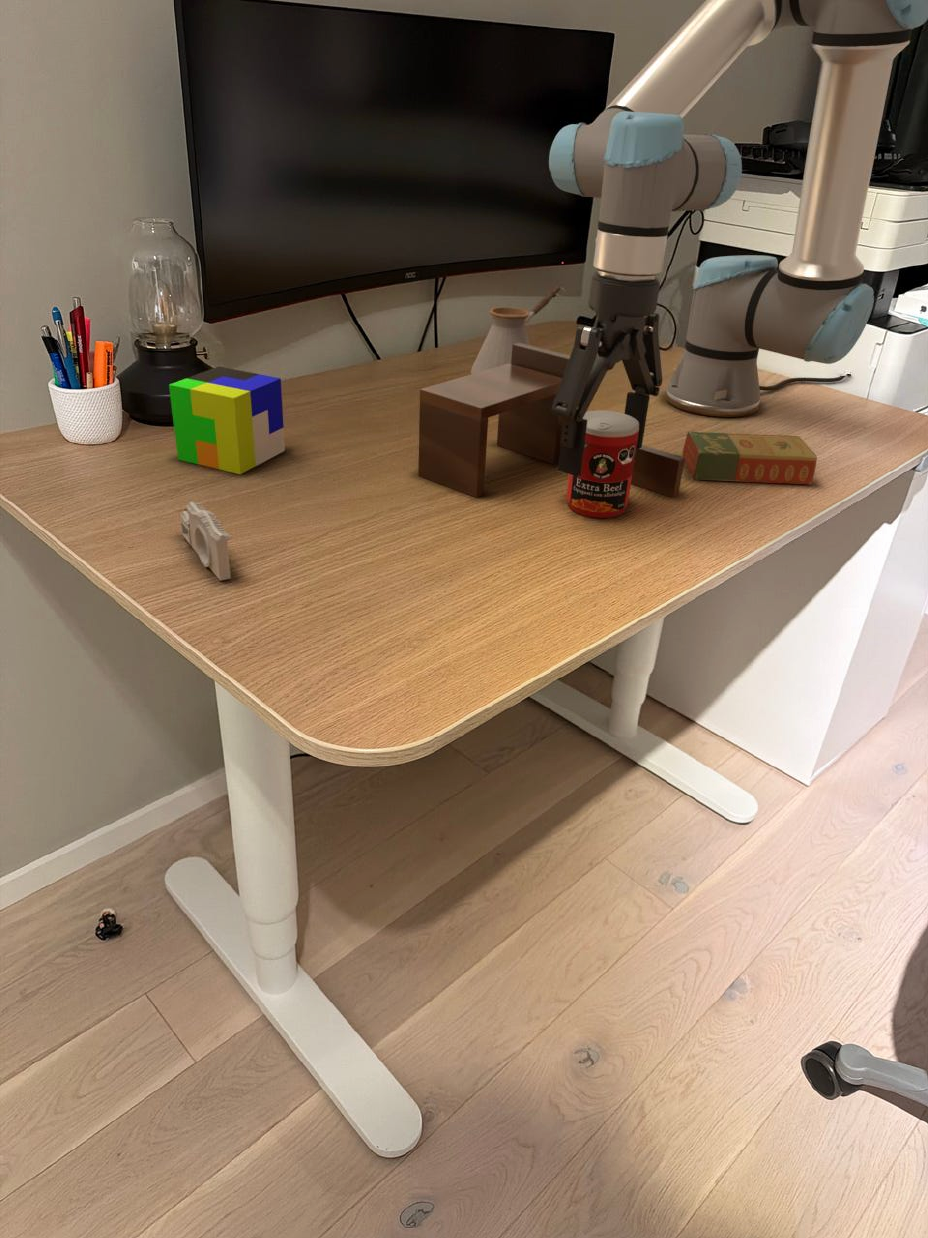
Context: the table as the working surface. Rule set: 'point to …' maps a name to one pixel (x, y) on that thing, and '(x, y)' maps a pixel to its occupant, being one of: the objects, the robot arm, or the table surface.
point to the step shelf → (511, 424)
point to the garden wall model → (207, 539)
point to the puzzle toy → (228, 419)
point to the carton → (749, 458)
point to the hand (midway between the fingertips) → (601, 458)
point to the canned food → (605, 465)
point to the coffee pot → (507, 334)
